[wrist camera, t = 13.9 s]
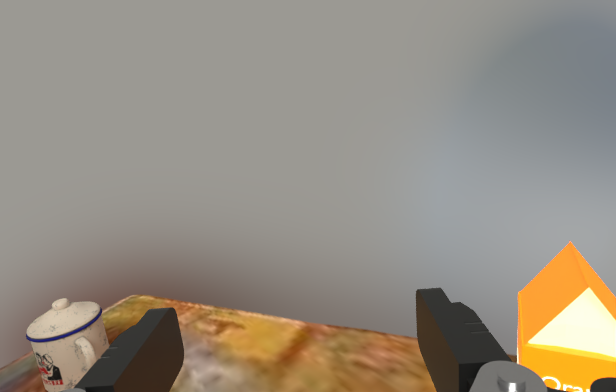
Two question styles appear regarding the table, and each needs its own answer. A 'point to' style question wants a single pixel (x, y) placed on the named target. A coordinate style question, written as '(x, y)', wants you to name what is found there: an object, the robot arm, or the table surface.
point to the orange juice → (567, 324)
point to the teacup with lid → (67, 342)
